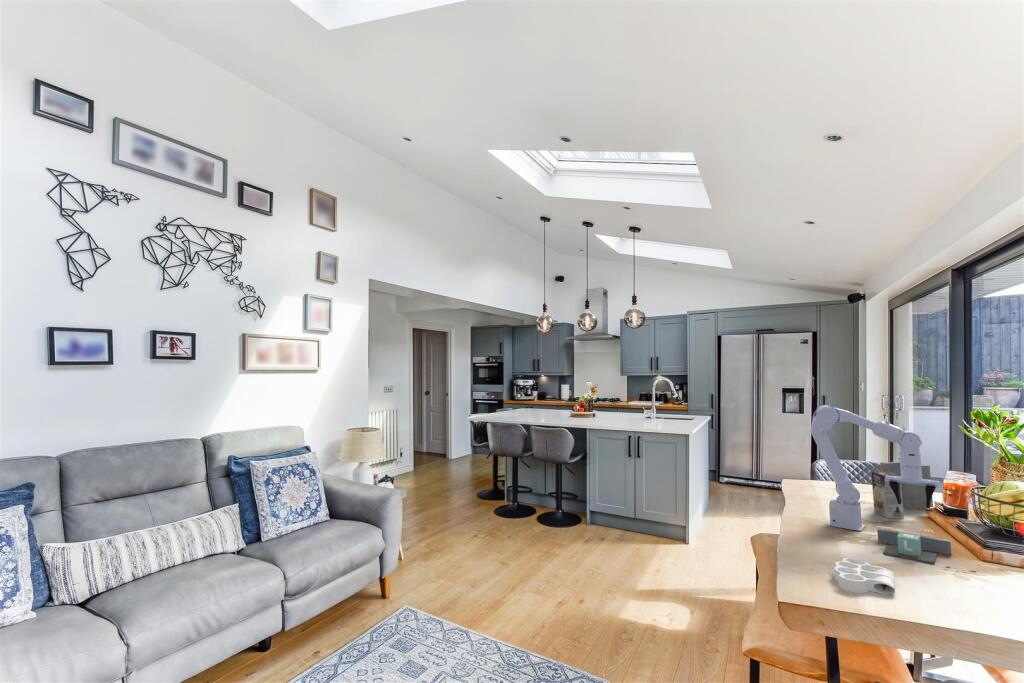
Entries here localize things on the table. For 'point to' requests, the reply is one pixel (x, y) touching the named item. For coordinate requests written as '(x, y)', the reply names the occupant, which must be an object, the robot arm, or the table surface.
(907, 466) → the robot arm
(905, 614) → the table surface
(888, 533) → the panel
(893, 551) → the mat
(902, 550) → the letter cube
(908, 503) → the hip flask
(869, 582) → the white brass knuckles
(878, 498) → the coffee box
